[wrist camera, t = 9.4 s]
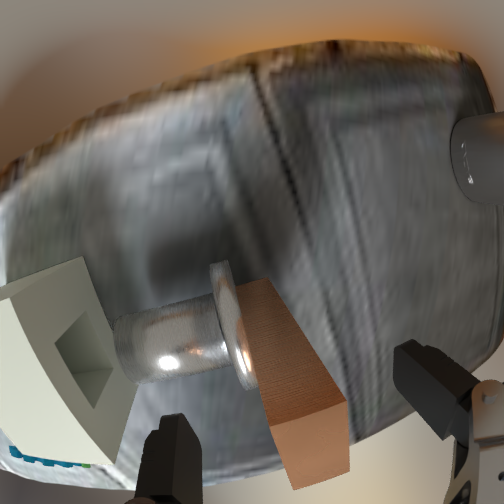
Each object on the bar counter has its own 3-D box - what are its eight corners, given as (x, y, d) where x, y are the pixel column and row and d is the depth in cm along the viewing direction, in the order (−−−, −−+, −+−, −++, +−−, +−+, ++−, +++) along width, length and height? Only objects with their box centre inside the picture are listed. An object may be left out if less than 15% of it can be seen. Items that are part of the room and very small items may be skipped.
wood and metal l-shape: (253, 240, 19) (341, 345, 6) (278, 336, 21) (349, 489, 7) (125, 276, 18) (12, 403, 5) (162, 365, 20) (131, 522, 7)
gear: (34, 454, 20) (-6, 456, 12) (30, 414, 24) (-11, 406, 15) (104, 466, 23) (77, 478, 15) (98, 424, 26) (69, 423, 18)
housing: (82, 255, 19) (9, 297, 9) (138, 384, 21) (114, 465, 12) (6, 284, 18) (-60, 323, 9) (59, 392, 21) (22, 454, 11)
